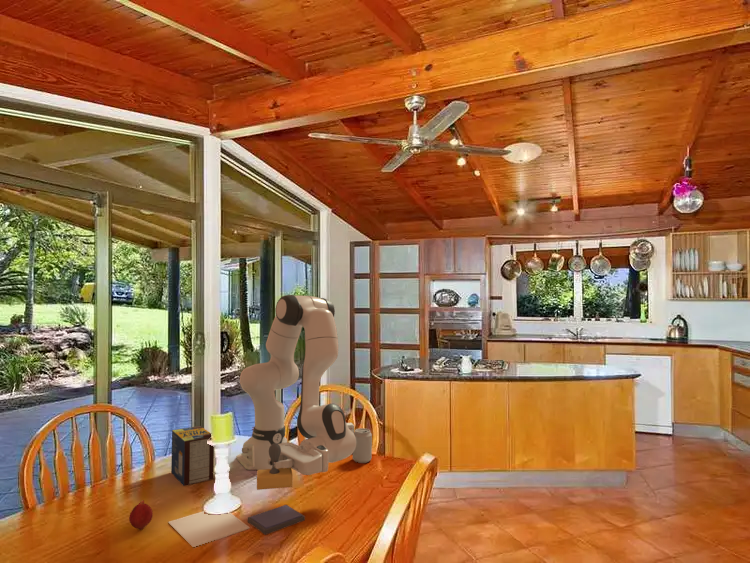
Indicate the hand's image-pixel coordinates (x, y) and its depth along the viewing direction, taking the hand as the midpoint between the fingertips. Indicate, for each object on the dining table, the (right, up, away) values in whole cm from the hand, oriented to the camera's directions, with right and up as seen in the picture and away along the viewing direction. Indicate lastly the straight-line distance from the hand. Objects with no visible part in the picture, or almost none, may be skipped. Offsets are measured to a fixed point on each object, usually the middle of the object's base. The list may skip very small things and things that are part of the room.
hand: (271, 463), depth 142 cm
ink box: (+17, -18, +61) cm, 65 cm away
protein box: (-36, -17, +33) cm, 51 cm away
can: (+25, -18, +52) cm, 60 cm away
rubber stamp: (+1, -7, +1) cm, 7 cm away
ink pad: (+1, -17, 0) cm, 17 cm away
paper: (-17, -16, -3) cm, 24 cm away
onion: (-35, -16, -6) cm, 39 cm away
